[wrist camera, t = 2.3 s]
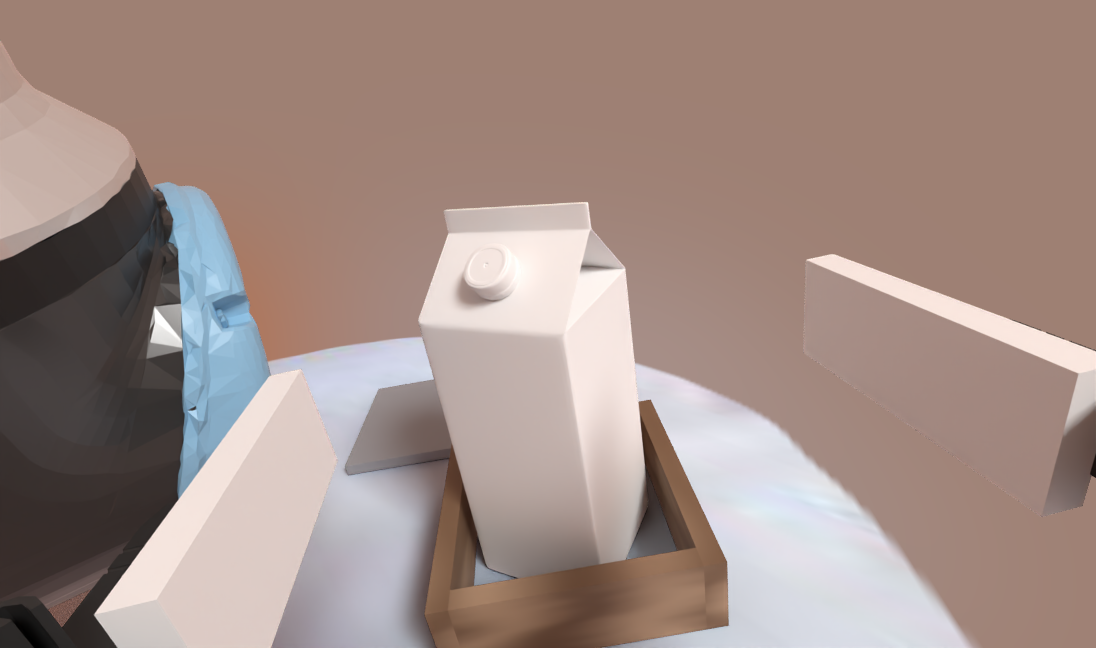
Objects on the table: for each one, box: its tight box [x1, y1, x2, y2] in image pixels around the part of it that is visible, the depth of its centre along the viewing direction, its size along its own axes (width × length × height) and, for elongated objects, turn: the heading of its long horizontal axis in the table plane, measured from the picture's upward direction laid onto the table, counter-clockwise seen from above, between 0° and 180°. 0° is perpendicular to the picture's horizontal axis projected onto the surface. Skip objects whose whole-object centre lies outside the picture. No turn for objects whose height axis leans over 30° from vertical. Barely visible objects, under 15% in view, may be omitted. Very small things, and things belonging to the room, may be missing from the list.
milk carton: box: [418, 202, 648, 578], centre depth 26 cm, size 7×7×19 cm
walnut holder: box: [424, 400, 729, 648], centre depth 29 cm, size 13×13×4 cm
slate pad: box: [345, 380, 452, 475], centre depth 43 cm, size 11×11×1 cm
